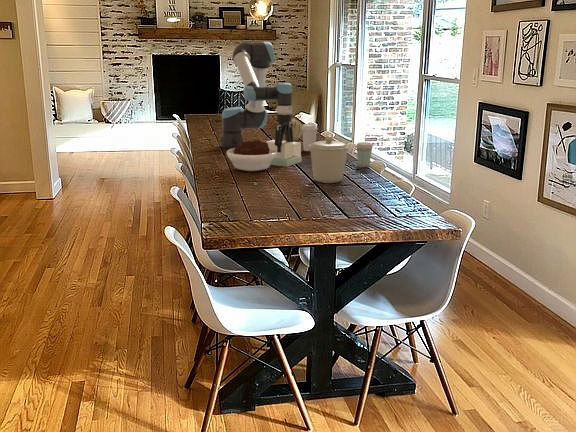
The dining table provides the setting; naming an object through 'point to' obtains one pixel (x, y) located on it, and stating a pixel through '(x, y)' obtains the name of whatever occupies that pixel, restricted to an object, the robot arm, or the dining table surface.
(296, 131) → the cantaloupe
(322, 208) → the dining table surface
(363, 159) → the coffee cup
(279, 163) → the stub tray
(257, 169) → the white serving bowl
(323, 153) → the canister
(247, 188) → the dining table surface
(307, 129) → the coffee cup
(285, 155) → the stub
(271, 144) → the ticket bar
